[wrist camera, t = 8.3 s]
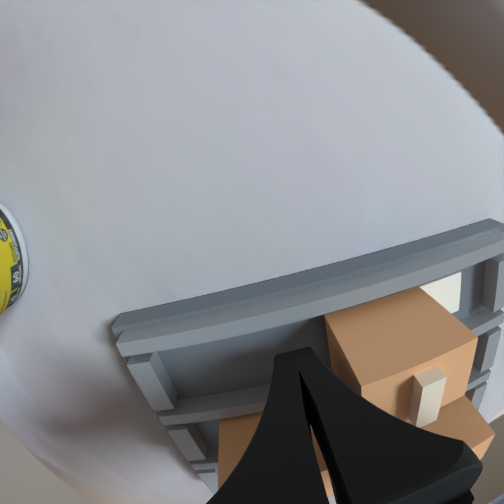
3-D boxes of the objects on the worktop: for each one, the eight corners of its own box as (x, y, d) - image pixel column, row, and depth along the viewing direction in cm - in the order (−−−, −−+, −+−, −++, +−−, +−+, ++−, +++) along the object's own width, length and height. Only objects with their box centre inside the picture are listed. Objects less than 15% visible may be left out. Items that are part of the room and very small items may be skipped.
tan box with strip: (315, 430, 13) (336, 506, 9) (235, 446, 13) (237, 524, 9) (308, 396, 12) (333, 482, 8) (219, 415, 12) (217, 502, 8)
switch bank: (464, 399, 16) (478, 418, 14) (212, 475, 16) (211, 501, 14) (489, 218, 12) (518, 229, 10) (120, 313, 12) (102, 341, 10)
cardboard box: (452, 416, 14) (485, 465, 10) (398, 441, 14) (426, 498, 10) (460, 389, 13) (500, 440, 9) (402, 417, 13) (436, 479, 9)
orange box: (416, 338, 12) (472, 405, 7) (331, 367, 12) (367, 453, 7) (417, 285, 11) (489, 347, 7) (324, 315, 11) (368, 401, 7)
